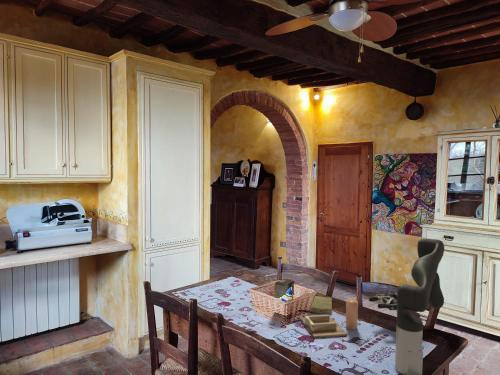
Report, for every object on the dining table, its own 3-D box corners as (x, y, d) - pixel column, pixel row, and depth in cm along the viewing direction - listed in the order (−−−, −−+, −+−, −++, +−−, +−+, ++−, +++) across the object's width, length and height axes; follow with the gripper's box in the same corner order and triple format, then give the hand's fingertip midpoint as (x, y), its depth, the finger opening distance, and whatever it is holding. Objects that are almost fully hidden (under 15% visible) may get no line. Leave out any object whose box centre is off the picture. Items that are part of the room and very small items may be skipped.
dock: (347, 335, 170) (347, 327, 170) (313, 338, 167) (314, 329, 167) (330, 317, 190) (330, 310, 189) (300, 319, 187) (300, 311, 187)
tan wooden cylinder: (359, 329, 177) (360, 303, 176) (348, 330, 176) (349, 303, 175) (354, 324, 182) (354, 298, 181) (343, 325, 181) (344, 299, 180)
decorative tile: (296, 299, 216) (296, 293, 216) (331, 302, 212) (331, 296, 212) (293, 311, 198) (294, 305, 198) (332, 315, 194) (332, 309, 194)
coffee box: (284, 306, 203) (284, 278, 202) (293, 309, 199) (294, 280, 198) (274, 311, 196) (275, 282, 195) (284, 315, 192) (285, 284, 191)
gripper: (395, 288, 190) (366, 289, 187) (412, 298, 176) (381, 300, 173) (395, 302, 191) (366, 304, 188) (412, 313, 177) (380, 316, 174)
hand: (373, 302), depth 181 cm, fingers open, 8 cm apart
